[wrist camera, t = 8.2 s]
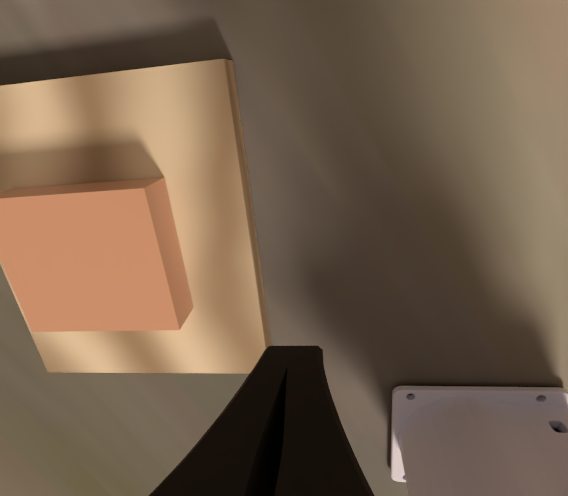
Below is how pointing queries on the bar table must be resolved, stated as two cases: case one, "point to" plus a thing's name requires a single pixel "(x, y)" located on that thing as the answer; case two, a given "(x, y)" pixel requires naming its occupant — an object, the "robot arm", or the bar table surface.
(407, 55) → the bar table surface
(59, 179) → the birch board
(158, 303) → the peach rectangular block
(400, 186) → the bar table surface
